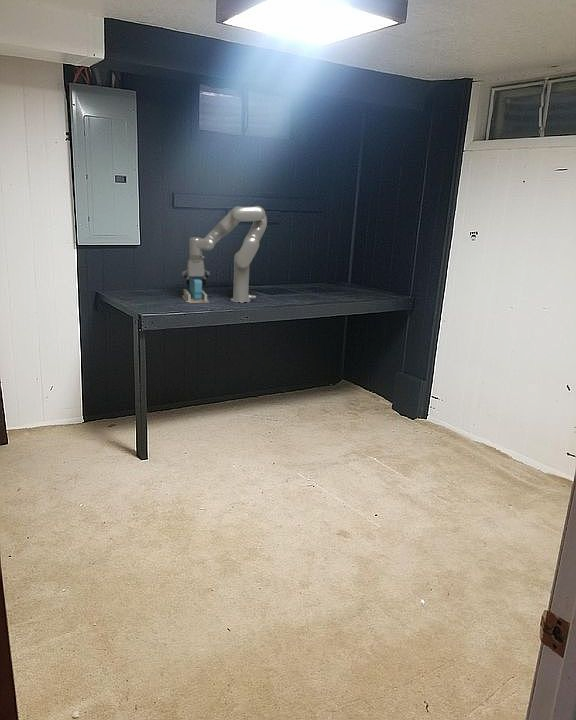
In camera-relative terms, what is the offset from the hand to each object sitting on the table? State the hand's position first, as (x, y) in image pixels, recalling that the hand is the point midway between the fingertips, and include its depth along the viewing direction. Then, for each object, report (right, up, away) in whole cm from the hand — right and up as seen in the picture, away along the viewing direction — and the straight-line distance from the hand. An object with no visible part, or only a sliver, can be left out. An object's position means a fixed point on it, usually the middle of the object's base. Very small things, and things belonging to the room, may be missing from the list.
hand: (196, 285), depth 363 cm
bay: (-1, -8, +2) cm, 9 cm away
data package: (-1, -8, +2) cm, 8 cm away
